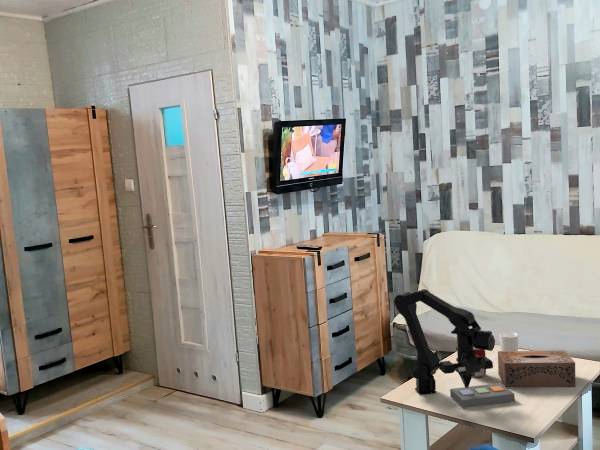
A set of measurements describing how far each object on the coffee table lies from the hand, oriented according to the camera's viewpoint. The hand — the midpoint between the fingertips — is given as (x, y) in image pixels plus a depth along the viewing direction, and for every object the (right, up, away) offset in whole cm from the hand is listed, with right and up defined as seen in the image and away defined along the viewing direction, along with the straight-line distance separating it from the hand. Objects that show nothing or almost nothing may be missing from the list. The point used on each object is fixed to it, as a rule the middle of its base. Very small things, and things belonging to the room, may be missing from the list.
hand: (466, 387), depth 222 cm
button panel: (+6, -5, +1) cm, 8 cm away
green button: (+6, -4, +1) cm, 8 cm away
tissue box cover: (+32, -2, +16) cm, 36 cm away
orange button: (+12, -4, +2) cm, 13 cm away
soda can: (+11, -2, +25) cm, 28 cm away
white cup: (+32, +1, +46) cm, 55 cm away
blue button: (0, -5, +1) cm, 5 cm away
